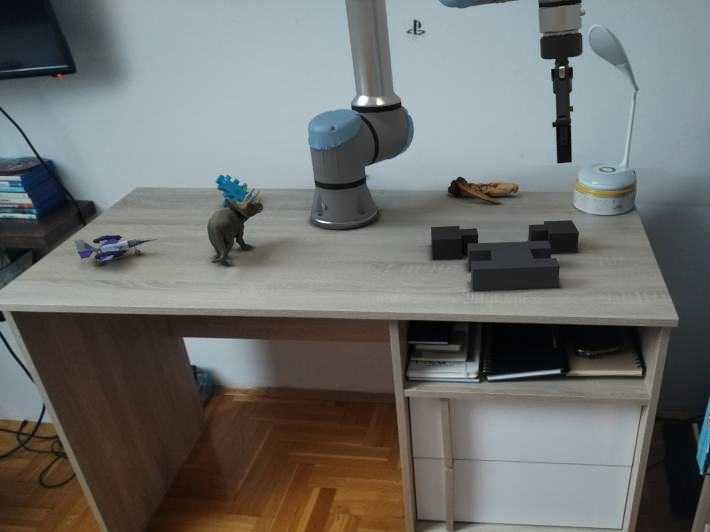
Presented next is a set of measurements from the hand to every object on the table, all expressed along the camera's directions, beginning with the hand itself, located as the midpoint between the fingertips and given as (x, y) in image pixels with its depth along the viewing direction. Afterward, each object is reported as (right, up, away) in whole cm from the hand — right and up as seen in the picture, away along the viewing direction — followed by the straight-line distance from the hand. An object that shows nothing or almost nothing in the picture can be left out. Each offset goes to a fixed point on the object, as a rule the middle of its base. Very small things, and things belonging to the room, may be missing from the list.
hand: (564, 154), depth 125 cm
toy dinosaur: (-68, -18, +9) cm, 71 cm away
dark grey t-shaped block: (-21, -17, +10) cm, 29 cm away
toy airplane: (-91, -19, +9) cm, 93 cm away
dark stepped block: (-1, -16, +12) cm, 20 cm away
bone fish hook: (-14, 0, +38) cm, 41 cm away
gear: (-75, -2, +35) cm, 83 cm away
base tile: (-10, -23, 0) cm, 25 cm away
